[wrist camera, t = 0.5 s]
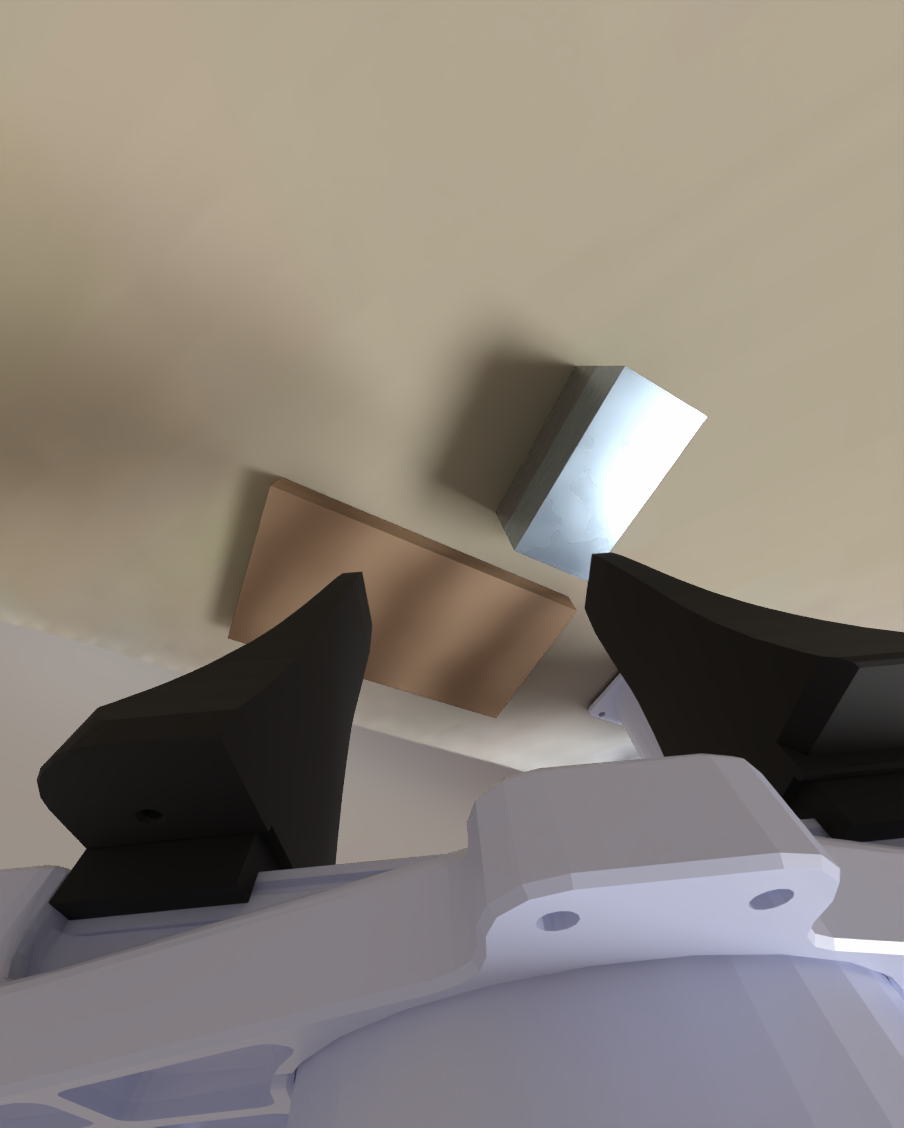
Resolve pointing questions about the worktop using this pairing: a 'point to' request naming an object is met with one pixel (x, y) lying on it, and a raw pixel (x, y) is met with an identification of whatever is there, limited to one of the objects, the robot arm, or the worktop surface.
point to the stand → (402, 600)
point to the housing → (594, 466)
